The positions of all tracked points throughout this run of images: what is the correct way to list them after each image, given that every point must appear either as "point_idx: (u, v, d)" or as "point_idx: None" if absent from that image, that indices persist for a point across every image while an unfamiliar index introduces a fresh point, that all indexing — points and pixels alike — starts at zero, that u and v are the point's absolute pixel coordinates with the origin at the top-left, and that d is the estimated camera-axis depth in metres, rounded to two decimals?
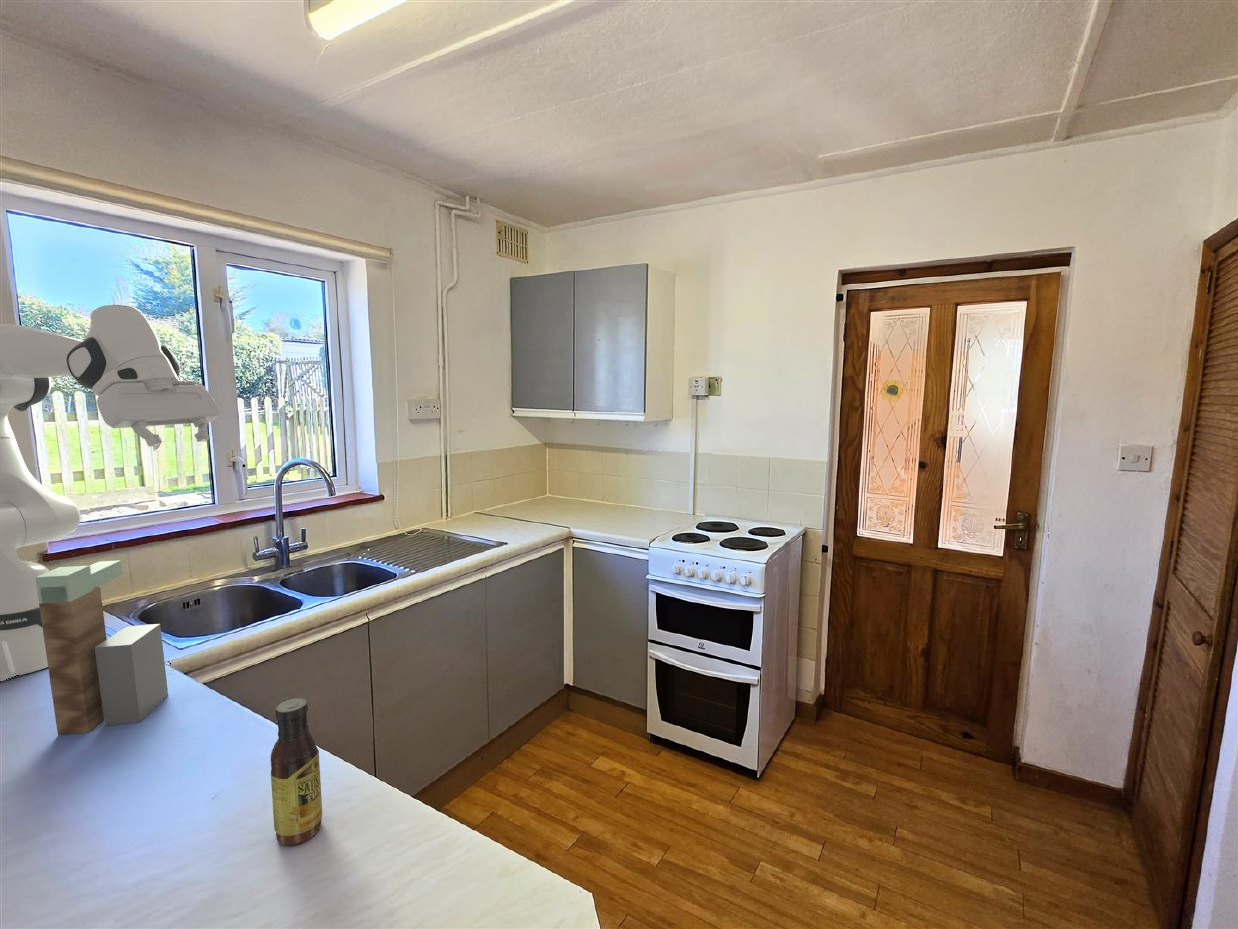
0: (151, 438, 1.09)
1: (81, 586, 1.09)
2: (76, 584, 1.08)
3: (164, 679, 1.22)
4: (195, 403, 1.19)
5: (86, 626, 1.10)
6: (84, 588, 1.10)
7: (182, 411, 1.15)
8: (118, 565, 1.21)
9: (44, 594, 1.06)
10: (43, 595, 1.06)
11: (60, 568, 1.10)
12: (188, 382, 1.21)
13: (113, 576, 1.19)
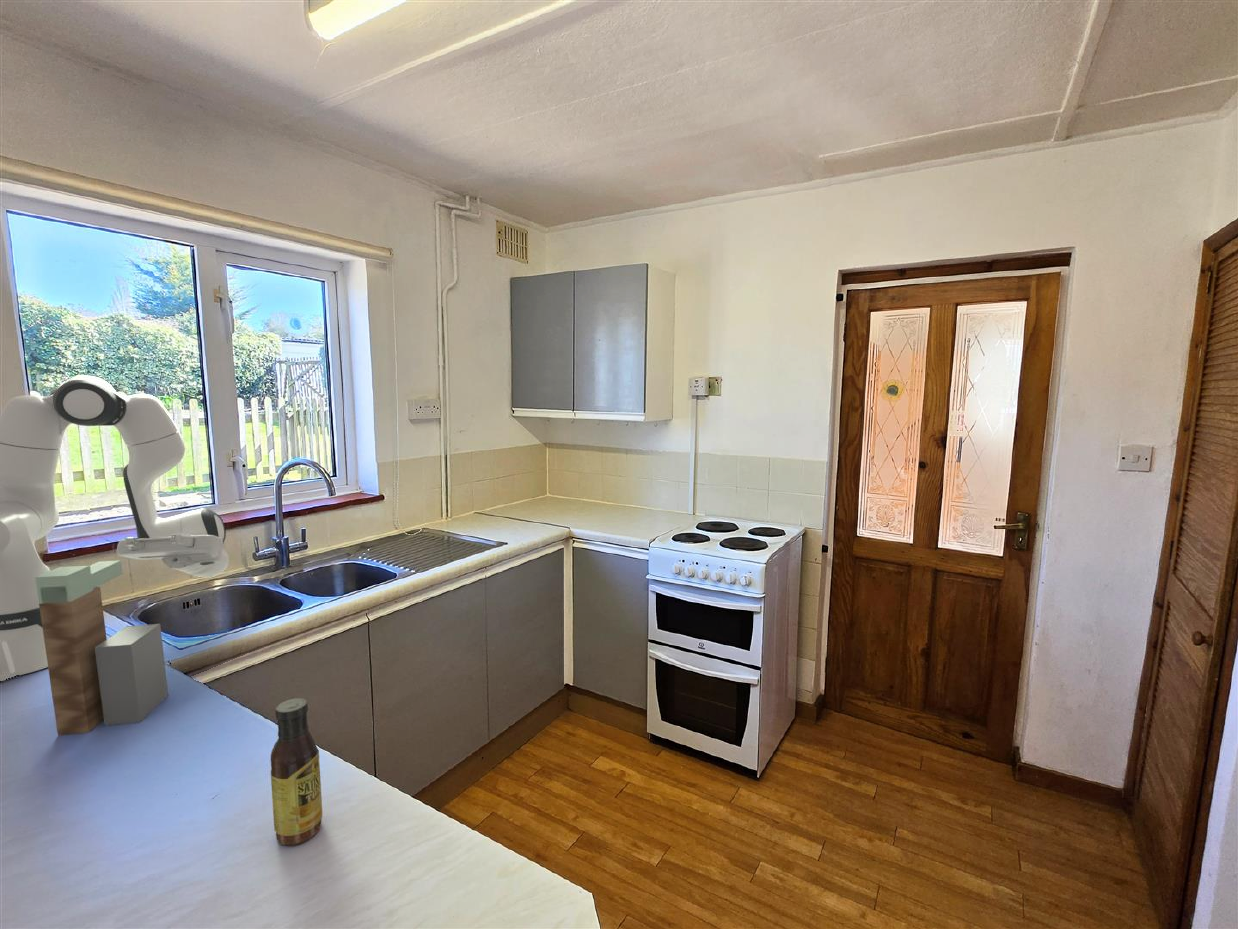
0: (179, 542, 1.34)
1: (81, 586, 1.09)
2: (76, 584, 1.08)
3: (164, 679, 1.22)
4: (144, 555, 1.38)
5: (86, 626, 1.10)
6: (84, 588, 1.10)
7: (156, 553, 1.37)
8: (118, 565, 1.21)
9: (44, 594, 1.06)
10: (43, 595, 1.06)
11: (60, 568, 1.10)
12: None
13: (113, 576, 1.19)
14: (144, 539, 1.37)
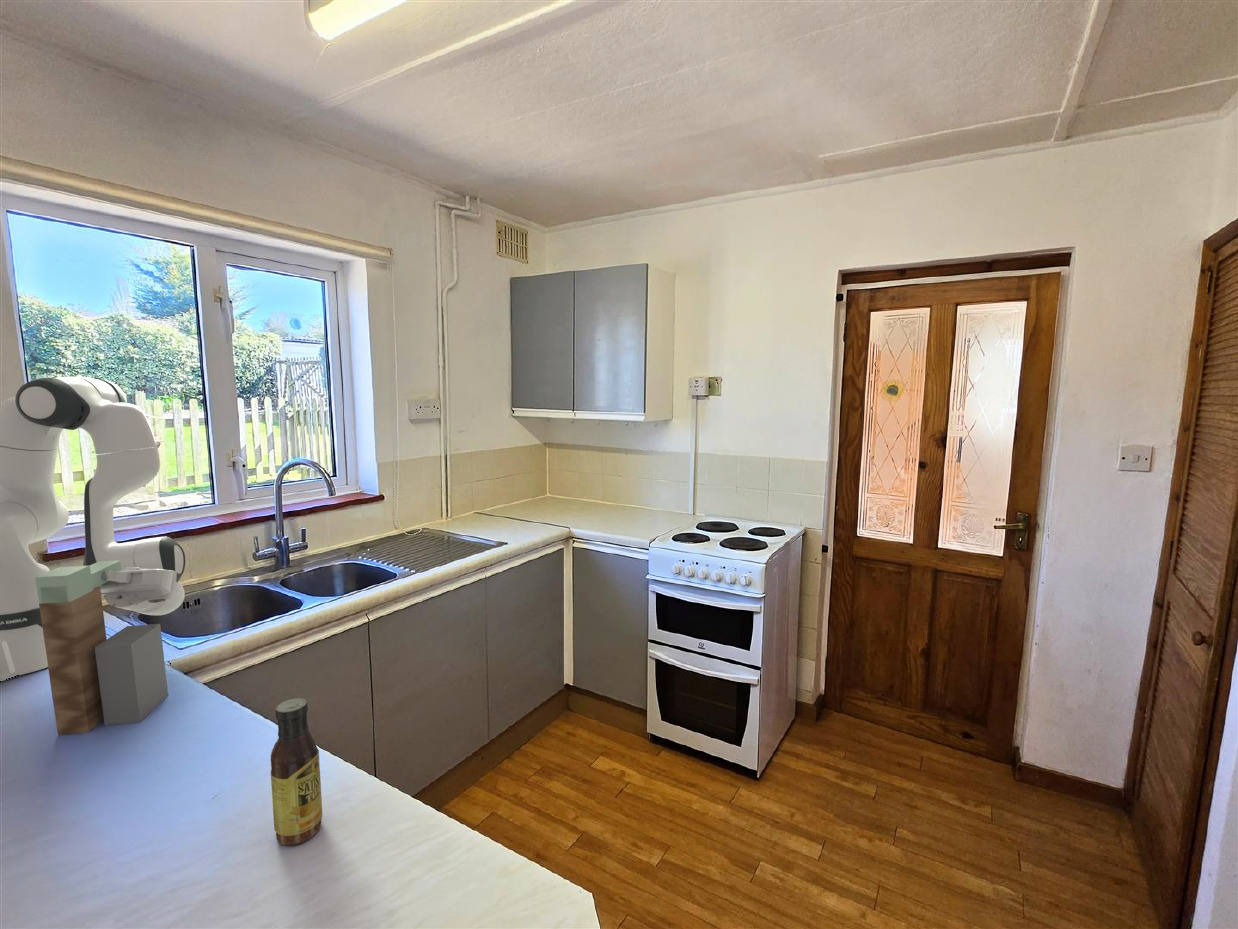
0: (112, 578, 1.17)
1: (81, 586, 1.09)
2: (76, 584, 1.08)
3: (164, 679, 1.22)
4: None
5: (86, 626, 1.10)
6: (84, 588, 1.10)
7: None
8: (118, 565, 1.21)
9: (44, 594, 1.06)
10: (43, 595, 1.06)
11: (60, 568, 1.10)
12: None
13: None
14: None
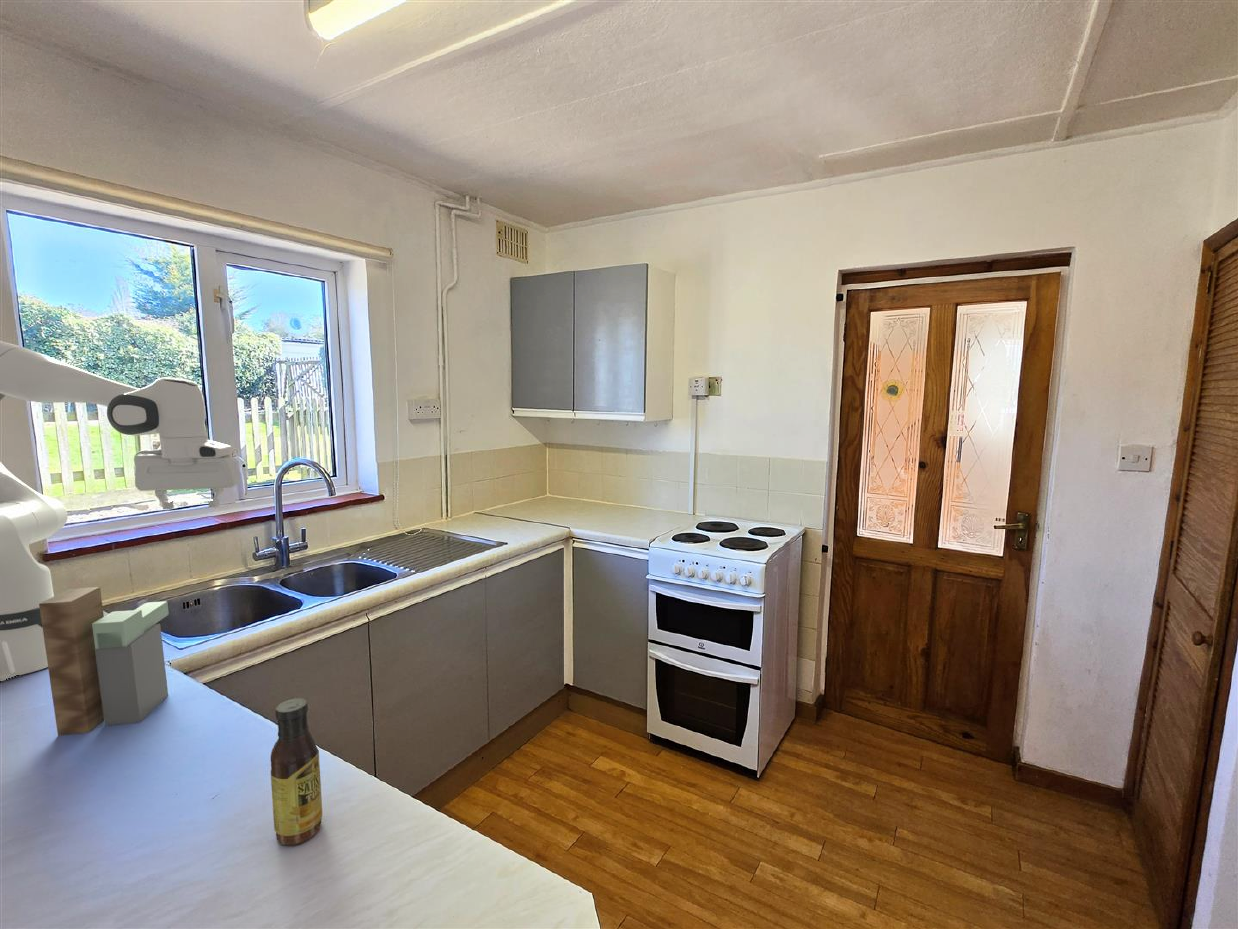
0: (218, 502, 1.36)
1: (134, 630, 1.13)
2: (129, 629, 1.12)
3: (164, 679, 1.22)
4: None
5: (86, 626, 1.10)
6: (136, 632, 1.14)
7: None
8: (165, 606, 1.25)
9: (100, 639, 1.10)
10: (99, 641, 1.10)
11: (113, 613, 1.14)
12: None
13: (161, 617, 1.23)
14: (165, 489, 1.32)
